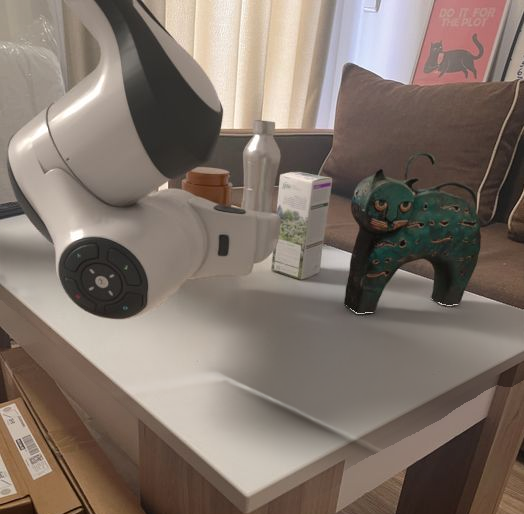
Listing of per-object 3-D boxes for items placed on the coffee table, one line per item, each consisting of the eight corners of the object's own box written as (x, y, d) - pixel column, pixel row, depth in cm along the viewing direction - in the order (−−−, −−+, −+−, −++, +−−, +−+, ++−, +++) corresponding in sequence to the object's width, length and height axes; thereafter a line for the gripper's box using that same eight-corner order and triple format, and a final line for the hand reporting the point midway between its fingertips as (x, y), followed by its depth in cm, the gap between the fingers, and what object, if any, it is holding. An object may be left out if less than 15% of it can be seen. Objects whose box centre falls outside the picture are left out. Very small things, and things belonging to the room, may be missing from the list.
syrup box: (320, 273, 82) (334, 176, 75) (300, 281, 77) (313, 179, 71) (290, 264, 85) (301, 170, 78) (269, 271, 80) (278, 172, 74)
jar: (192, 262, 64) (195, 174, 60) (173, 249, 69) (173, 166, 64) (237, 258, 67) (242, 174, 63) (215, 245, 72) (219, 166, 67)
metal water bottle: (244, 231, 101) (253, 118, 92) (277, 238, 99) (289, 123, 90) (230, 238, 95) (238, 119, 86) (265, 245, 93) (276, 124, 84)
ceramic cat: (349, 319, 66) (379, 151, 57) (325, 300, 71) (349, 143, 62) (471, 309, 73) (515, 159, 64) (441, 293, 78) (478, 151, 70)
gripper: (78, 250, 57) (130, 223, 69) (263, 278, 54) (283, 245, 66) (75, 190, 54) (129, 173, 66) (270, 217, 51) (289, 195, 64)
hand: (208, 210), depth 66 cm, fingers closed on jar, 6 cm apart
